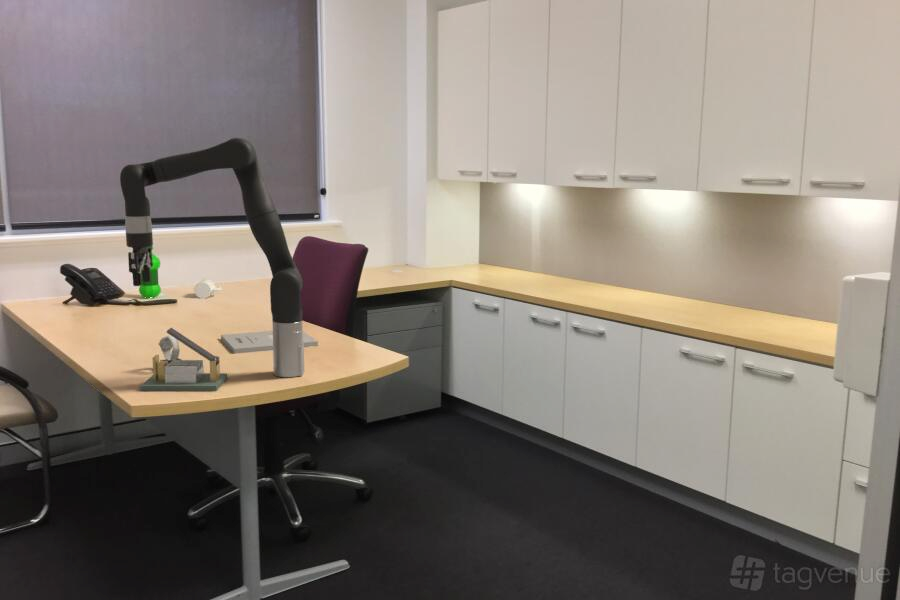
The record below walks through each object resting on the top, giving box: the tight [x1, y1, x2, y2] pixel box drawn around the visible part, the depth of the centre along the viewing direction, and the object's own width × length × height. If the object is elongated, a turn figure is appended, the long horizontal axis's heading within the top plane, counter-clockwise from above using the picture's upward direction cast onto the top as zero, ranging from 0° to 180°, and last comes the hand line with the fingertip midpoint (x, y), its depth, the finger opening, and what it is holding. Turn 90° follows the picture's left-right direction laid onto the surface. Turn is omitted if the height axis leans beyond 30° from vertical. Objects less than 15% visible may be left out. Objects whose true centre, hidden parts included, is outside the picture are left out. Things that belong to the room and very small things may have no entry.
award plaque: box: [220, 330, 319, 355], centre depth 298 cm, size 25×30×2 cm
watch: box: [158, 335, 182, 364], centre depth 258 cm, size 6×8×11 cm
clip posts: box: [151, 354, 221, 382], centre depth 241 cm, size 19×5×7 cm, turn 92°
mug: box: [193, 278, 223, 299], centre depth 392 cm, size 12×10×8 cm
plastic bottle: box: [138, 245, 162, 299], centre depth 385 cm, size 10×10×25 cm
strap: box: [166, 327, 220, 362], centre depth 240 cm, size 17×4×2 cm
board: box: [139, 372, 229, 392], centre depth 242 cm, size 22×14×2 cm, turn 92°
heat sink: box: [165, 359, 205, 384], centre depth 241 cm, size 9×9×5 cm
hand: (142, 283), depth 248 cm, fingers open, 8 cm apart
